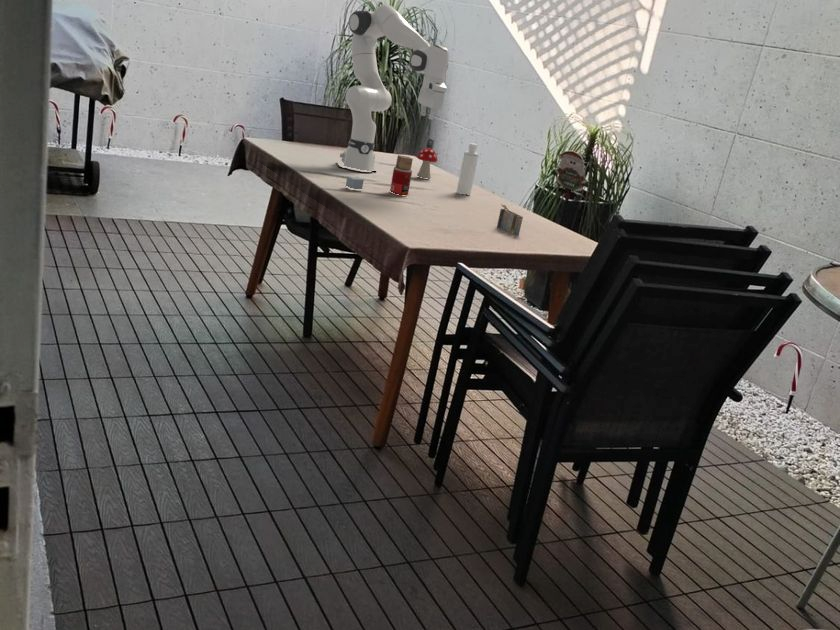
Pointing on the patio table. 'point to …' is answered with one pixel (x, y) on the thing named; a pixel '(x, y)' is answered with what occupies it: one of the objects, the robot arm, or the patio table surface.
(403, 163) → the walnut block
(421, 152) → the decorative mushroom
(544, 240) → the patio table surface
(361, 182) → the grey block
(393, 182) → the canned food
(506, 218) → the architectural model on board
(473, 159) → the white bottle
